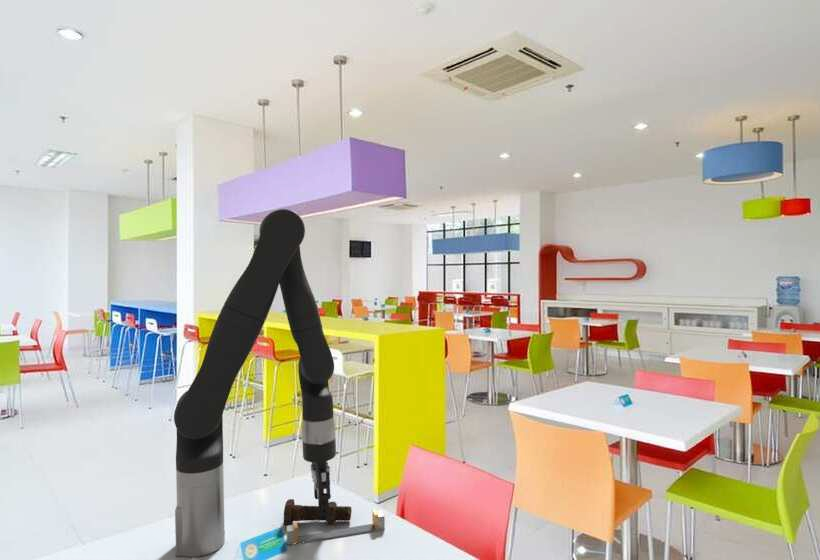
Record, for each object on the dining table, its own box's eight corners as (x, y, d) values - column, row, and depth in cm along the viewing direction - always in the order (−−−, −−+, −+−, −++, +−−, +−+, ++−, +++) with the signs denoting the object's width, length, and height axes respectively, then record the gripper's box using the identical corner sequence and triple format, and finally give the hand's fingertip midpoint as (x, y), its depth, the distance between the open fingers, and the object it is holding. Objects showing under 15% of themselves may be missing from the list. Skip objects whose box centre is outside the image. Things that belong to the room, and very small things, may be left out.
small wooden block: (375, 530, 112) (374, 515, 112) (372, 525, 114) (372, 510, 114) (384, 529, 113) (384, 513, 113) (381, 523, 115) (381, 508, 115)
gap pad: (298, 544, 107) (298, 542, 107) (297, 537, 110) (297, 536, 110) (374, 531, 112) (374, 529, 112) (371, 525, 114) (371, 523, 114)
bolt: (350, 531, 116) (284, 530, 115) (352, 511, 120) (289, 510, 120) (349, 515, 113) (282, 515, 112) (351, 495, 117) (286, 495, 117)
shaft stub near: (287, 545, 106) (287, 529, 106) (286, 539, 109) (286, 523, 109) (298, 543, 107) (297, 527, 107) (297, 537, 109) (296, 521, 109)
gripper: (299, 429, 121) (302, 495, 122) (305, 449, 108) (308, 524, 108) (330, 425, 124) (333, 490, 124) (340, 444, 110) (342, 517, 110)
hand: (321, 506), depth 116 cm, fingers open, 8 cm apart
